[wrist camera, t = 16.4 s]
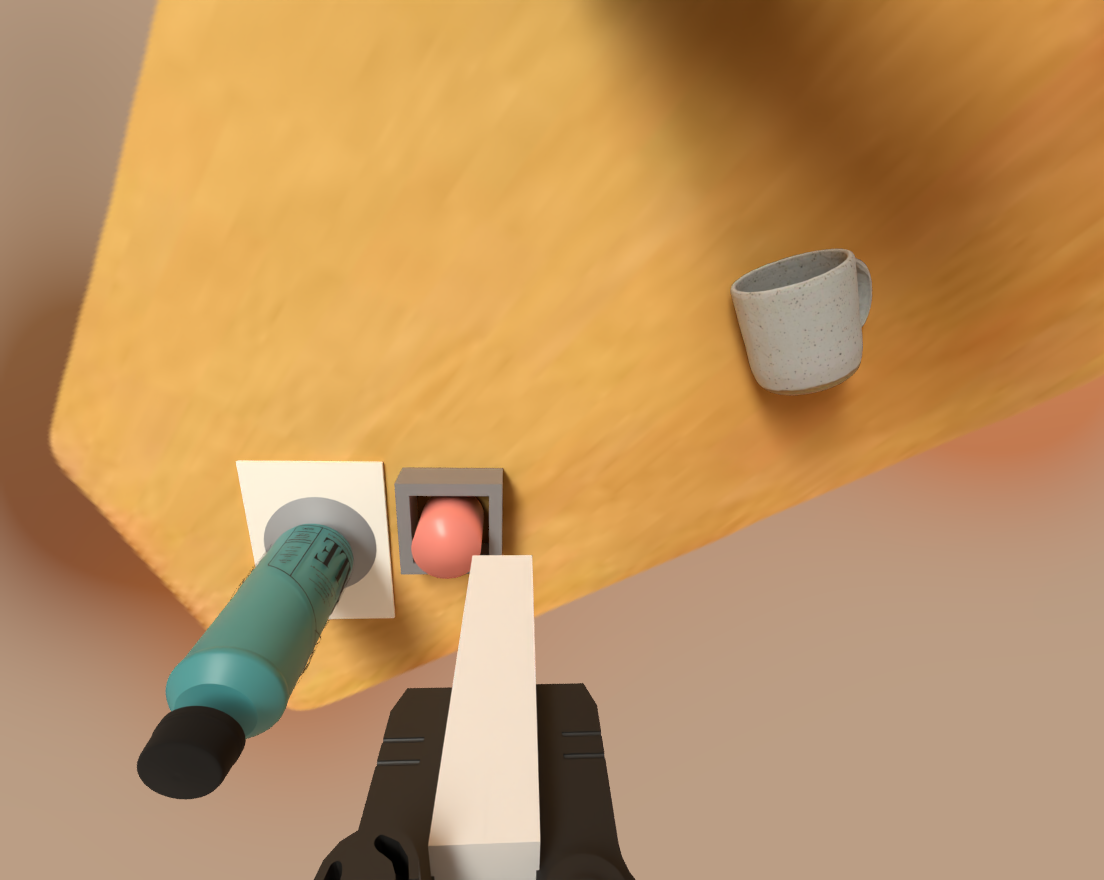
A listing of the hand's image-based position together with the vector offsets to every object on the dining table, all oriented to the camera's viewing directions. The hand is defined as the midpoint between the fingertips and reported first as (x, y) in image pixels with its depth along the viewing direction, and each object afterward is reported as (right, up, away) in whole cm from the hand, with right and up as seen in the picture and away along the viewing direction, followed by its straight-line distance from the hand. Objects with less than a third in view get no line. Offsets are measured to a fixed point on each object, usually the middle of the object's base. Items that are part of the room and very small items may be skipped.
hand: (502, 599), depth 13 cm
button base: (-7, -2, +29) cm, 30 cm away
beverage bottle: (-18, -5, +29) cm, 35 cm away
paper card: (-18, -5, +30) cm, 35 cm away
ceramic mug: (+19, +14, +26) cm, 35 cm away
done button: (-7, -2, +29) cm, 30 cm away
